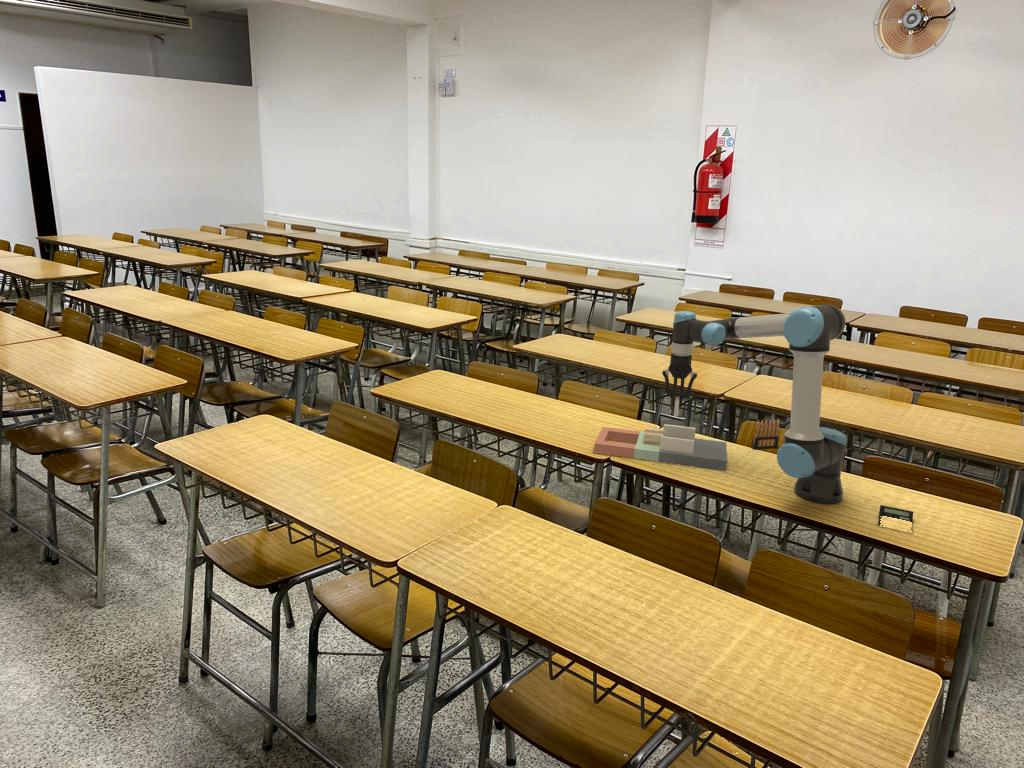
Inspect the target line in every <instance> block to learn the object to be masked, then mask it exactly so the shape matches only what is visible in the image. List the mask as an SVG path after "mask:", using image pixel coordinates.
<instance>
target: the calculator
mask: <svg viewBox="0 0 1024 768" xmlns="http://www.w3.org/2000/svg"><path fill="white" fill-rule="evenodd" d="M880 516H881V517H882V516H887V517H892V518H897V519H902V520H906V521H910V522H912V523H913V519H914V511H913V510H912V511H911V510H907V509H903V508H897V507H892V506H888V505H883V504H880V505H879V512H878V519H879V521H878V520H877V522H878V523H877V526H878V525H880V524H881V523H880V521H881V520H880V519H881V517H880ZM882 526H883V525H882Z"/></svg>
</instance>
